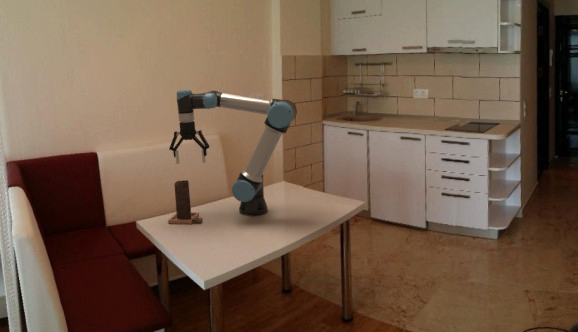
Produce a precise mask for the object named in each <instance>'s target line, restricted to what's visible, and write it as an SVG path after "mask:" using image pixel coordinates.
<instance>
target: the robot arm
mask: <svg viewBox="0 0 578 332" xmlns="http://www.w3.org/2000/svg"><path fill="white" fill-rule="evenodd" d="M176 104H177V105H176V106H177V110H178V111H177V114H178V121H179V131H177V130H176V131H174V132H173V138H172V140H171V143H170V146H169V151H172V153H173V157H174V158H175V163H176V165H179V164H180V155H179V150H178V149H179V147H180V145H181V144H182V143H183V141H192V140H193V141H194V142H195V143H196V144H197V145H198V146H199V147H200V148H201V149H202V150H201V159H202V160H201V161H202V164H205V163H206V157H207V155H208V153H207V152H208V151H207V149H209V148H210V144H209V142H208V141H207V139H206V137H205V135H203V130H201V129H200V130H196V123H195V121H194V120H195V113H194V110H199V109H200V110H202V109H203V110H204V109H206V110H210V109H215V108H216V107H217V108H224V109H230V110H236V111H242V112H247V113H248V112H249V113H253V114H258V115H259V114H260V115H265V116H266V118H265V119H264V120H265V121H264V126H265V128H264V129H263V132H262V134H261V136H260V138H259V139H258V142H257V145H256V146H255V149H254V151H253V153H252V155H251V156H250V159H249V161H248V163H247V165H246V166H245V169H244V168H243V169H242V170H241V171H240V173H239V175H238V177H237V179H236V181H235V182H234V183H233V184H232V187H231V193H232V195H233V197H234V198H235V200H237V201H238V202H240V204H239V207H238V208H239V209H238V211H239V212H238V213H239V214H240V215H244V216H249V217H251V216H253V217H254V216H261V215H264V214H267V212H268V209H269V208H268V205H267V202H266V200H265V199H266V198H265V196H264V195H265V193H264V189H265V188H264V171H265V169H266V167H267V165H268V164H269V162H270V161H269V160H270V159H271V158H272V155H273V153H274V151H275V149H276V147H277V145H278V143H279V141H280V138H281V137H282V135H285V134H287V131H288V129H289V128H290V126H291V123H292V121H294V120H295V118H296V116H297V114H298V113H297V112H298V109H297V106H296V104H295V103H294V102H293V101H291V100H288V99H281V98H280V99H278V98H271V99H266V98H264V99H263V98H259V97H252V96H246V95H239V94H232V93H226V92H220V91H217V90H210V91H207V92H204V93H193V91H192V90H191V89H181V90H177V92H176ZM179 135H180V138H179V140H178V141H177V139H178V136H179ZM197 135H198V136H199V138H198V137H197ZM201 141H202V142H201ZM176 142H177V143H176Z"/></svg>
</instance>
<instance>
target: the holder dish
mask: <svg viewBox="0 0 578 332" xmlns="http://www.w3.org/2000/svg"><path fill="white" fill-rule="evenodd" d="M193 218H200V212H192V211H191V218H188V219H178V218H177V213H176V212H175V214H173V215H172V216H171V217H170V218H169V219H168V221H167V222H168V225H193V224H192V219H193Z"/></svg>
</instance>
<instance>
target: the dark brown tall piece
mask: <svg viewBox="0 0 578 332" xmlns="http://www.w3.org/2000/svg"><path fill="white" fill-rule="evenodd" d="M174 194H175V195H174V197H175V198H174V199H175V210H176V212H175V214H176V213H177V218H178V219H188V218H191V212H192V210H191V208H192V206H191V196H190V184H189V180H188V179H186V180H177V181H175V182H174Z"/></svg>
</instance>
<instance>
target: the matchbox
mask: <svg viewBox="0 0 578 332" xmlns="http://www.w3.org/2000/svg"><path fill="white" fill-rule="evenodd" d="M202 224H203V218H202V217H201V218H200V217H198V218H193V219H192V224H191V225H202Z"/></svg>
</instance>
